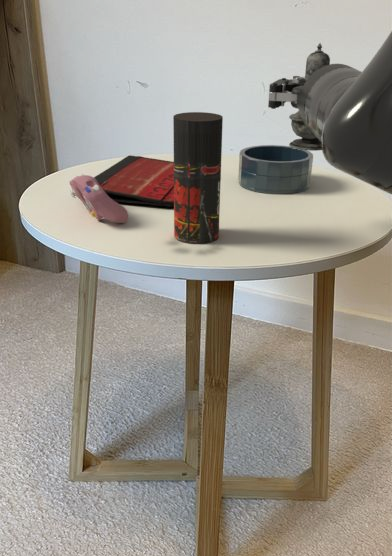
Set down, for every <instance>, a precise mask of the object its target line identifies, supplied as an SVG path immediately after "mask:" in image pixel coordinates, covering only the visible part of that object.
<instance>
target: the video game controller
mask: <svg viewBox="0 0 392 556" xmlns="http://www.w3.org/2000/svg"><path fill="white" fill-rule="evenodd" d="M94 177H95V176H91V175H86V174H84V173H81V175H79V176H78V175H76V176H75V177H73V178H72V179H70V181H69V185H70V187H71V190H69V195H70V196H71V197H72V198H74V199H76V198H78V199H79V200H80V201H81V203H82V204H83V205H84V207H85V208H86V210H87V211H88V212H89V214H90V216H91V217H92V218H95V219H96V220H97V221H98V222H99V221H101V220H102V219H105V220H107V221H109V222H112V223H116V224H124V223H127V221H128V219H129V213H128V211H127V209H126V208H125V207H124V206H123V205H121V204H120V203H119V202H115V201H114V200H112V199H111V198H110V197H109V196H108V195H107V194H106V193H105V191H104V190H103V189H102V188H101V187H100V186H99V183H98V181H97V180H96V179H95V178H94Z"/></svg>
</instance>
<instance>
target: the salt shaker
mask: <svg viewBox="0 0 392 556" xmlns="http://www.w3.org/2000/svg"><path fill="white" fill-rule="evenodd" d="M316 48H317V50H315V51H314V52H311V53H310V54H309V55H308V56H307V57H306V61H305V62H306V63H305V72H304V77H310V76H311V75H312V74H313V73H314V72H315V71H317V70H318V69H320V68H322V67H324V66H326V65H330V64H331V57H330V55H329V54H328V53H326V52H324V50H322V49H323V46H322V44H321V42H319V43H318V44H317V46H316ZM288 118H289V119H290V120H291V123H290V124H291V125H290V126H291V129H292V131H293V133H294V134H295V135H296V136H297V137H299V138H296V139H293V140H292V141H291V142H290V143H289V144H288V146H290V147H292V148H295V149H300V150H307V151H309V152H311V151H315V152H317V151H322V146H321V141H320V140H319V139H318V138H317V137H316V136H315V135H314V134H313V133H312V132H311V131H310V129H309V128H308V127H307V126H306V125H305V123H304V122H303V120H302V118H301V115H300V112H299V110H298V111H297V112H295V113H292V114H290V115H289V117H288Z"/></svg>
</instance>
